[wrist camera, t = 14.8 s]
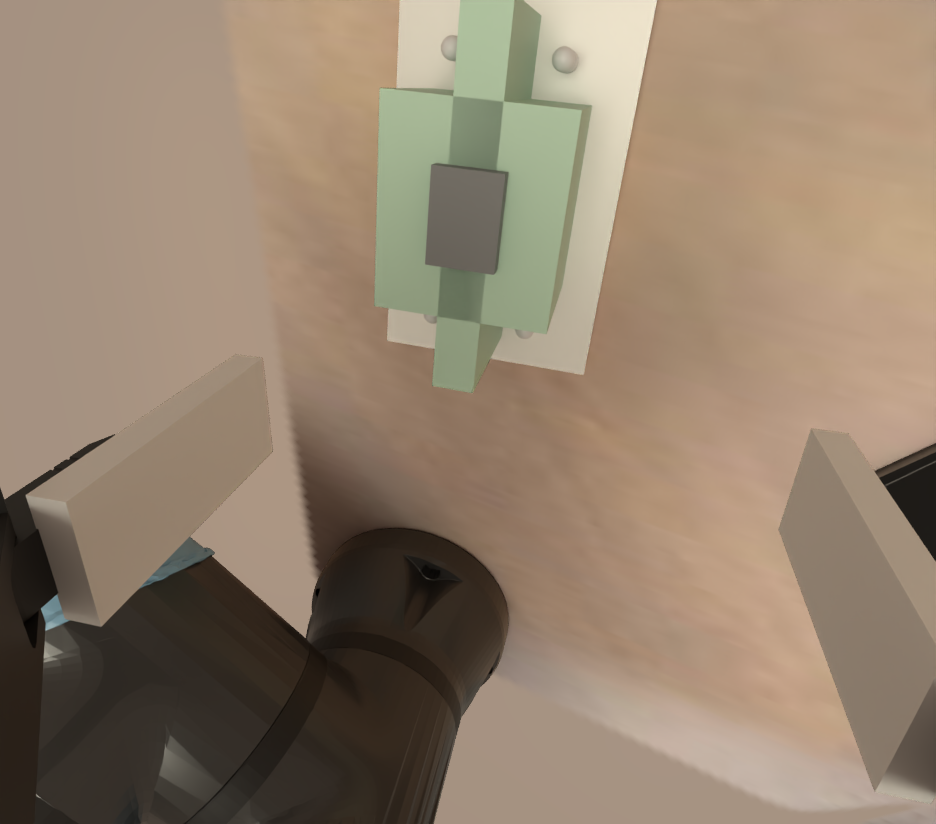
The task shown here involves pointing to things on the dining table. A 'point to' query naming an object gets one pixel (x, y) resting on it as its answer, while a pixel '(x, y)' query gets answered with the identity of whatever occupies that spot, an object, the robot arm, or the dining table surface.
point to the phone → (915, 492)
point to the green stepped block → (477, 193)
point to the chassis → (613, 108)
